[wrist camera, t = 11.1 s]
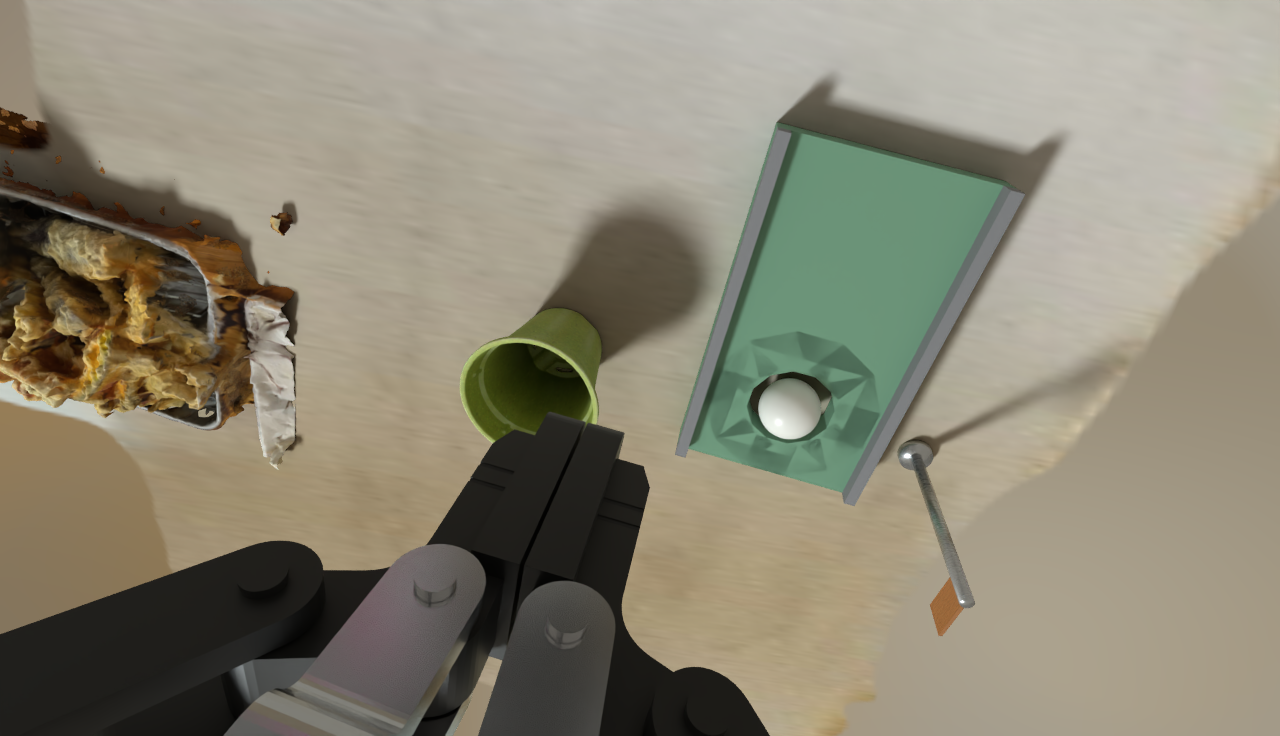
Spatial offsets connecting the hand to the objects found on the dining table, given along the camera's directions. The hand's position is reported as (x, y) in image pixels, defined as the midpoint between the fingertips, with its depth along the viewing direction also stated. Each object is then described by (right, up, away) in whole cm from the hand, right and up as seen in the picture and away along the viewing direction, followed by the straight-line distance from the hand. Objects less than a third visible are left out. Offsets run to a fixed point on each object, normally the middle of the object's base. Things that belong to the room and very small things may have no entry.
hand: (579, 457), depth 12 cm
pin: (+22, -5, +34) cm, 41 cm away
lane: (+14, +5, +31) cm, 34 cm away
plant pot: (-5, +4, +35) cm, 36 cm away
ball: (+12, -1, +32) cm, 34 cm away
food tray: (-45, +10, +41) cm, 62 cm away
